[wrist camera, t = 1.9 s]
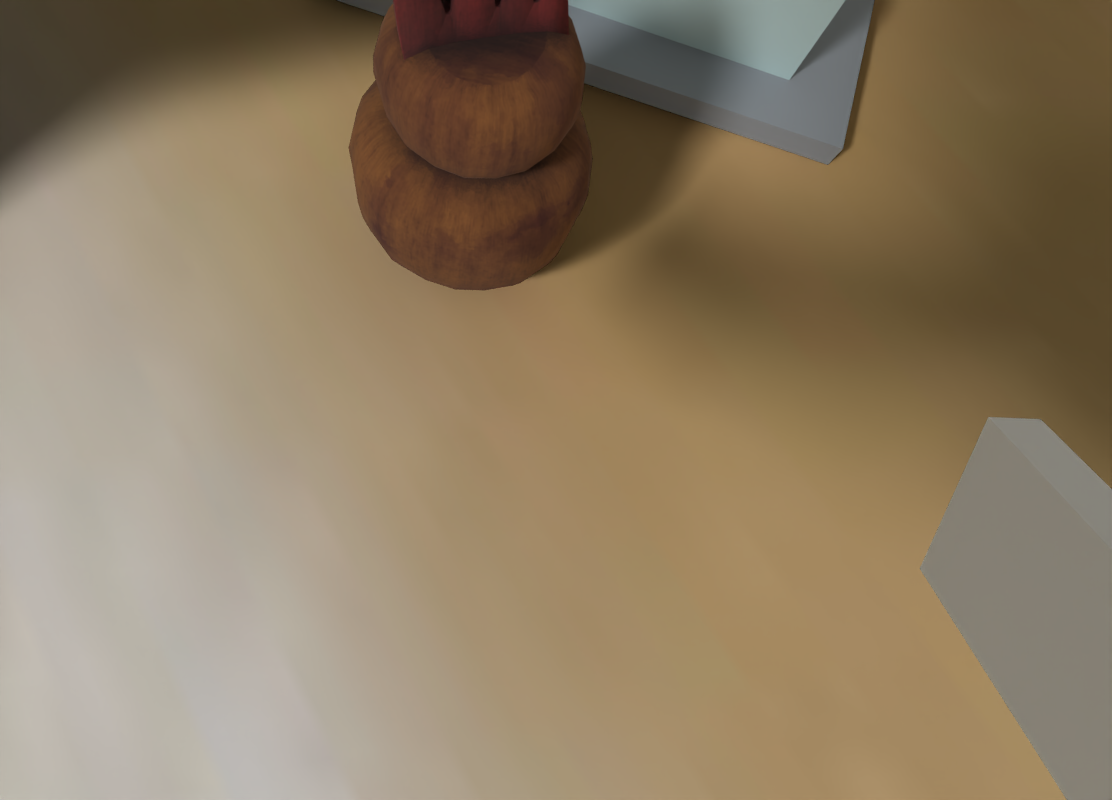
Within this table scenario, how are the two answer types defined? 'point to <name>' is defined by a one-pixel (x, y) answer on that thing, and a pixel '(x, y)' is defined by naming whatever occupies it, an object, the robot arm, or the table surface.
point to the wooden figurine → (473, 139)
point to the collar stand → (729, 62)
